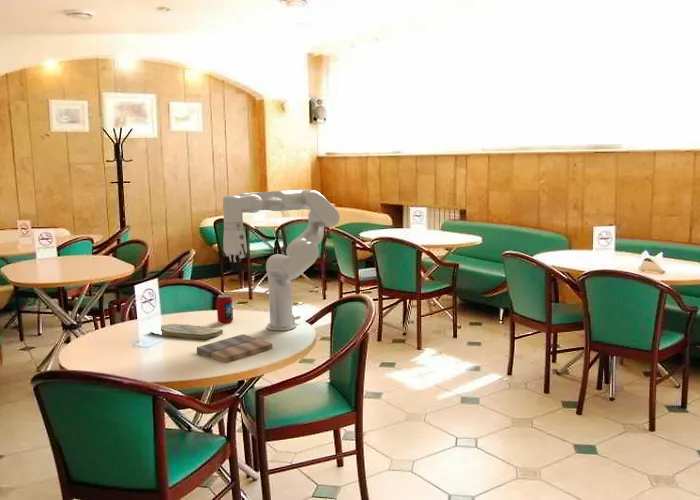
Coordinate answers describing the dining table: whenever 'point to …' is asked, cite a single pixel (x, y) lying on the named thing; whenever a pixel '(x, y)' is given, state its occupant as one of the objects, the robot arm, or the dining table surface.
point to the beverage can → (224, 308)
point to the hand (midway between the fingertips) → (235, 271)
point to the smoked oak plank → (223, 344)
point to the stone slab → (189, 331)
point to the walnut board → (241, 350)
